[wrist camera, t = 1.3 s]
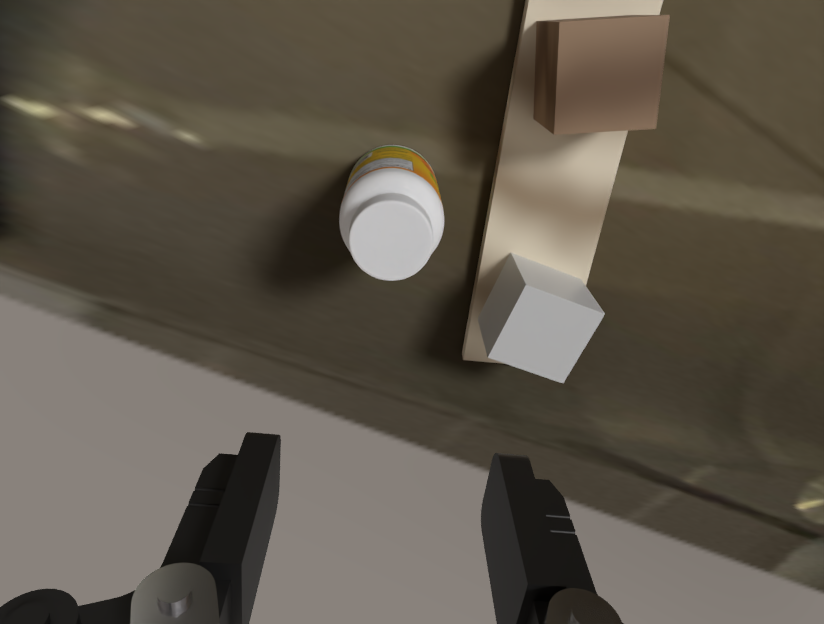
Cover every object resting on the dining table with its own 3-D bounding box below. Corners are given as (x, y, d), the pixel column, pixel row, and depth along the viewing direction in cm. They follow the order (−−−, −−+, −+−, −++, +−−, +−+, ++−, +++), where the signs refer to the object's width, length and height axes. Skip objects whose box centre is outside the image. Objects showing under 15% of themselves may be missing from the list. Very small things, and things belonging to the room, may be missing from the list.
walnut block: (536, 21, 32) (559, 21, 27) (631, 14, 32) (670, 14, 27) (533, 119, 34) (553, 135, 29) (621, 113, 34) (656, 128, 29)
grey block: (510, 252, 37) (525, 284, 33) (580, 279, 38) (604, 313, 34) (477, 318, 39) (487, 357, 35) (544, 342, 40) (563, 383, 36)
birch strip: (533, -44, 31) (537, -46, 30) (662, -26, 32) (670, -27, 31) (461, 352, 42) (463, 360, 41) (559, 361, 42) (563, 369, 41)
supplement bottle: (437, 228, 38) (449, 293, 29) (352, 232, 38) (338, 297, 29) (436, 141, 35) (448, 182, 27) (344, 144, 35) (327, 187, 26)
